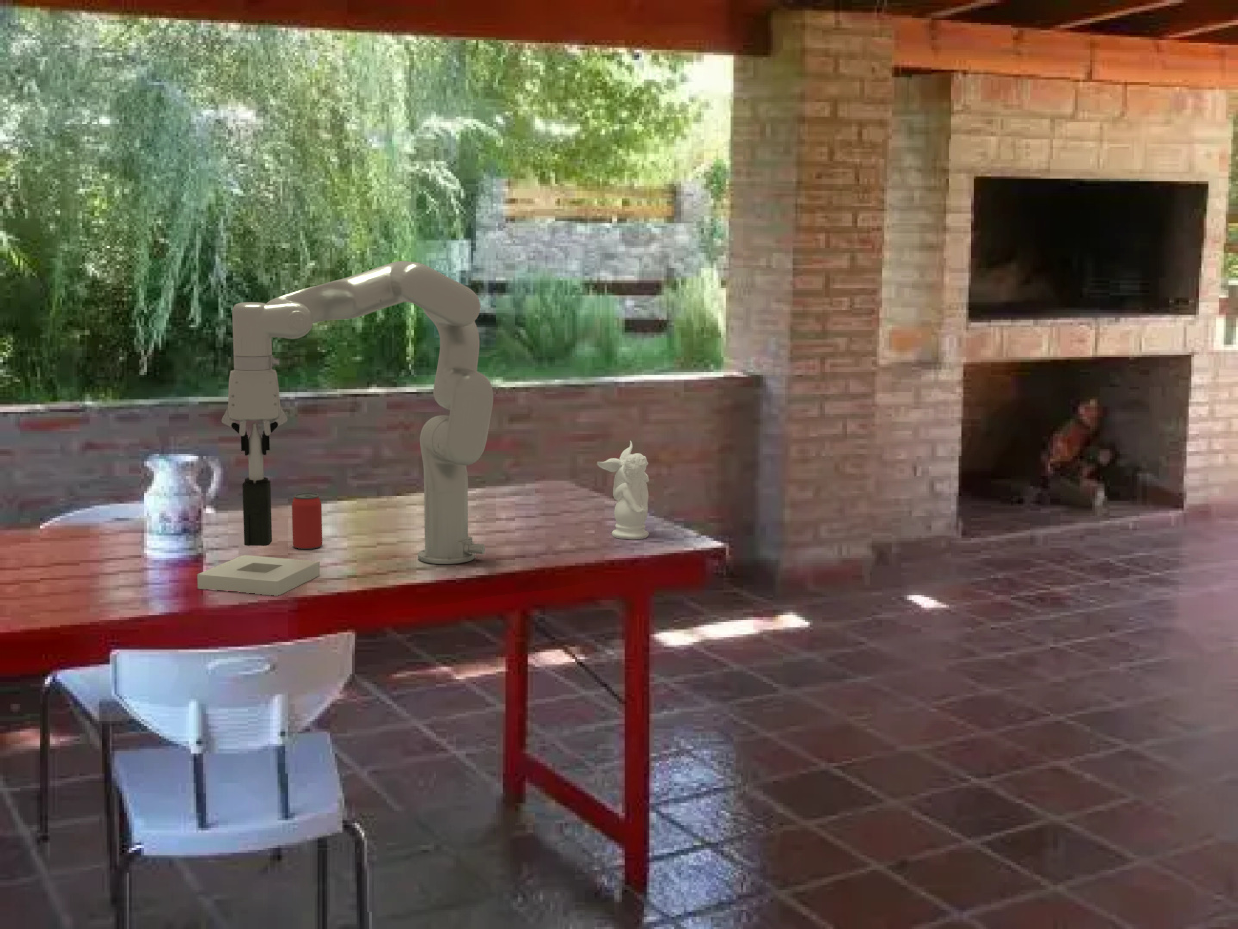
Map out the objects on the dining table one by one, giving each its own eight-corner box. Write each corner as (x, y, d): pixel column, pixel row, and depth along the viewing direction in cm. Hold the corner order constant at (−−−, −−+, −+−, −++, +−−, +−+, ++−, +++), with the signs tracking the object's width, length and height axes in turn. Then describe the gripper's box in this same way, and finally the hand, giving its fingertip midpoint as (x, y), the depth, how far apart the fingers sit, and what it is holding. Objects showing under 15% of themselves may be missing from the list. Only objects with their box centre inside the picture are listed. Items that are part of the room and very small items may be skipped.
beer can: (315, 551, 351) (314, 498, 349) (288, 549, 352) (286, 497, 350) (326, 544, 357) (325, 493, 355) (299, 543, 358) (298, 491, 356)
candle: (273, 540, 324) (269, 420, 319) (268, 546, 319) (264, 424, 314) (248, 540, 324) (244, 420, 319) (243, 545, 319) (239, 424, 314)
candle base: (319, 575, 329) (319, 561, 328) (277, 596, 312) (277, 581, 311) (243, 568, 334) (243, 555, 333) (197, 588, 317) (197, 574, 316)
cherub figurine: (649, 542, 364) (650, 448, 360) (595, 541, 364) (596, 448, 360) (647, 529, 376) (649, 439, 372) (596, 529, 376) (597, 439, 372)
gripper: (293, 361, 320) (296, 450, 323) (211, 362, 317) (214, 452, 320) (295, 365, 313) (297, 456, 316) (210, 366, 309) (213, 458, 313)
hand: (255, 453), depth 318 cm, fingers closed on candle, 3 cm apart
